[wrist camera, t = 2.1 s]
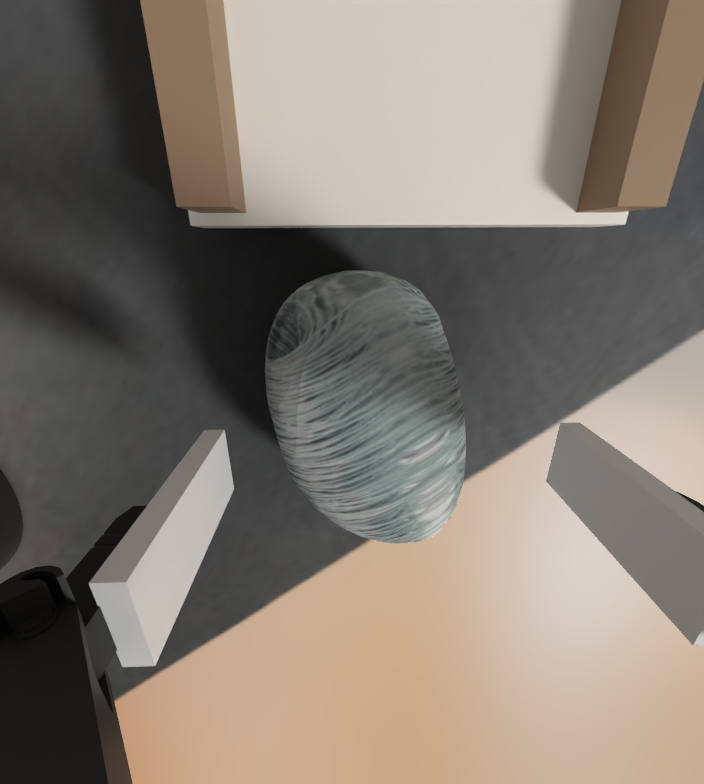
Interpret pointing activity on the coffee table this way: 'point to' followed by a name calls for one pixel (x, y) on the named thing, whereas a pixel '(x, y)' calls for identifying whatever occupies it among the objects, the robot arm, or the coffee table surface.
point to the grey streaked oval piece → (368, 405)
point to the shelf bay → (423, 109)
